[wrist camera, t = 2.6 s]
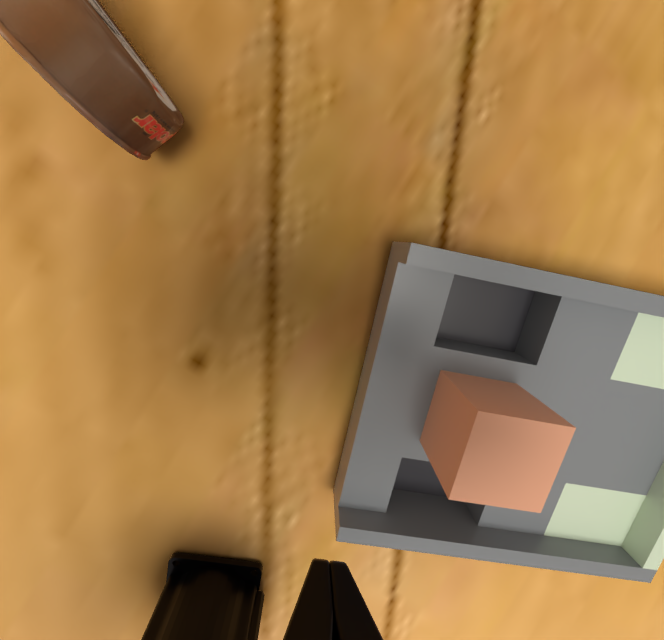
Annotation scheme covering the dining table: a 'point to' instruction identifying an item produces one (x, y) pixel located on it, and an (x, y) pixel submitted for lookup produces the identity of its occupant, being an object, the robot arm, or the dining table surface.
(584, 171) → the dining table surface
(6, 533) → the dining table surface
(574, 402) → the box
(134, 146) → the tin
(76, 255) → the dining table surface
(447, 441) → the block
